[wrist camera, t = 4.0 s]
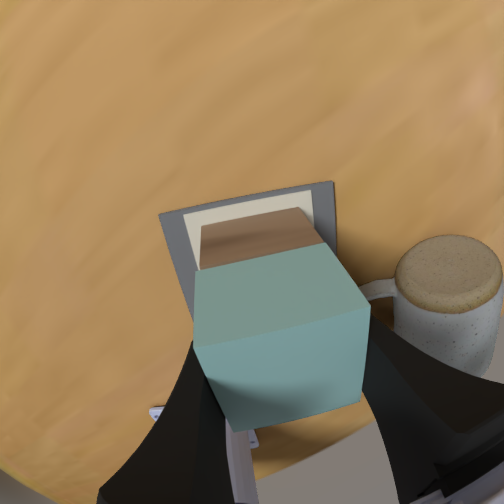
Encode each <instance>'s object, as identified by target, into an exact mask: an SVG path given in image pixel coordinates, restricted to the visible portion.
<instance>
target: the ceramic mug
mask: <svg viewBox="0 0 504 504" xmlns="http://www.w3.org/2000/svg"><path fill="white" fill-rule="evenodd" d="M358 288H359V290H360V291H361V292H362V294H363V295H364V297H365V298H366V300H367V301H370V300H374V299H377V298H385V297H390V296H391V297H393V306H394V309H393V314H394V332H395V333H396V334H397V335H399V336H400V337H402V338H403V339H404V340H406V341H407V342H409V343H410V344H412V345H413V346H415V347H416V348H418V349H419V350H421V351H423V352H424V353H426V354H428V355H430V356H431V357H433V358H435V359H437V360H439V361H441V362H443V363H445V364H447V365H449V366H451V367H453V368H456V369H458V370H460V371H463V372H465V373H468V374H471V375H473V376H476V377H480V378H481V377H482V376H483V375H484V373H485V372H486V370H487V368H488V367H489V365H490V362H491V360H492V356H493V352H494V347H495V342H496V337H497V332H498V327H499V321H500V313H501V309H502V303H503V295H504V282H503V272H502V266H501V263H500V261H499V259H498V257H497V255H496V254H495V253H494V252H493V250H491V249H490V248H489V247H488V246H487V245H485V244H484V243H482V242H480V241H478V240H476V239H474V238H470V237H466V236H460V235H442V236H437V237H433V238H429V239H427V240H424V241H422V242H420V243H418V244H417V245H415V246H413V247H412V248H411V249H410V250H409V251H408V252H406V253H405V254H404V256H403V257H402V258H401V260H400V261H399V263H398V265H397V269H396V273H395V276H394V277H393V278H392V279H382V280H374V281H372V282H370V283H367V284H364V285H362V286H359V287H358Z"/></svg>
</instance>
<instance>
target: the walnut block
mask: <svg viewBox="0 0 504 504" xmlns="http://www.w3.org/2000/svg"><path fill="white" fill-rule="evenodd" d="M320 243H324V241H323V240H322V238H321V237H320V236H319V234H318V233H317V232H316V230H315V229H314V227H313V226H312V225H311V223H310V222H309V220H308V219H307V218H306V216H305V215H304V214H303V212H302V211H301V210H300V208H299V207H294V208H289V209H283V210H278V211H273V212H268V213H262V214H257V215H252V216H247V217H242V218H237V219H232V220H227V221H222V222H217V223H212V224H208V225H203V226H201V240H200V261H199V267H200V270H204V269H208V268H213V267H217V266H222V265H226V264H231V263H235V262H240V261H244V260H249V259H253V258H258V257H262V256H267V255H271V254H276V253H280V252H285V251H289V250H294V249H298V248H303V247H307V246H312V245H316V244H320Z"/></svg>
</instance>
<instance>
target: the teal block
mask: <svg viewBox="0 0 504 504" xmlns="http://www.w3.org/2000/svg"><path fill="white" fill-rule="evenodd" d="M370 309H371V306H370V304H369V303H368V301H367V300H366V298H365V297H364V295H363V294H362V292H361V291H360V290H359V288H358V287H357V285H356V284H355V282H354V281H353V280H352V278H351V277H350V275H349V274H348V273H347V271H346V270H345V268H344V267H343V266H342V264H341V263H340V261H339V260H338V259H337V257H336V256H335V255H334V253H333V252H332V250H331V249H330V248H329V246H328V245H327V244H326V242H325V243H320V244H316V245H312V246H307V247H303V248H298V249H294V250H289V251H285V252H280V253H276V254H271V255H267V256H262V257H258V258H253V259H249V260H244V261H240V262H235V263H231V264H226V265H222V266H217V267H213V268H208V269H204V270H199V271H195V294H194V331H193V349H194V351H195V353H196V356H197V358H198V360H199V362H200V365H201V367H202V369H203V371H204V373H205V375H206V378H207V380H208V382H209V384H210V386H211V388H212V390H213V392H214V395H215V397H216V399H217V401H218V403H219V405H220V407H221V409H222V411H223V413H224V415H225V417H226V419H227V421H228V423H229V425H230V427H231V429H232V431H233V433H235V432H241V431H246V430H252V429H257V428H262V427H267V426H272V425H276V424H281V423H285V422H290V421H294V420H298V419H302V418H306V417H310V416H313V415H317V414H321V413H324V412H328V411H331V410H334V409H338V408H341V407H344V406H347V405H351V404H354V403H357V402H360V398H361V391H362V384H363V377H364V369H365V361H366V353H367V343H368V333H369V322H370Z"/></svg>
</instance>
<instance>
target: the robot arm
mask: <svg viewBox="0 0 504 504" xmlns="http://www.w3.org/2000/svg"><path fill="white" fill-rule="evenodd" d="M362 391H363V393H364V395H365V397H366V399H367V401H368V403H369V405H370V407H371V409H372V412H373V414H374V416H375V418H376V421H377V424H378V427H379V430H380V432H381V435H382V438H383V441H384V444H385V448H386V451H387V454H388V457H389V461H390V465H391V468H392V472H393V476H394V481H395V485H396V489H397V494H398V500H399V503H400V504H446V503H447V504H504V384H501V383H498V382H493V381H489V380H486V379H482V378H480V377H476V376H473V375H471V374H468V373H465V372H463V371H460V370H458V369H456V368H453V367H451V366H449V365H447V364H445V363H443V362H441V361H439V360H437V359H435V358H433V357H431V356H430V355H428V354H426V353H424V352H423V351H421V350H419V349H418V348H416V347H415V346H413V345H412V344H410V343H409V342H407V341H406V340H404V339H403V338H402V337H400V336H399V335H397V334H396V333H395V332H393V331H392V330H391V329H389V328H388V327H387V326H386V325H384V324H383V323H382V322H380V321H379V320H378V319H377V318H375V317H374V316H373V315H372V314H370V322H369V333H368V343H367V353H366V361H365V369H364V377H363V384H362ZM149 414H150V415H151V416H152V418H153V419H154V420H155V424H154V426H153V427H152V429H151V430H150V432H149V433H148V434H147V436H146V437H145V439H144V440H143V442H142V443H141V444H140V446H139V447H138V448H137V450H136V451H135V452H134V453H133V454H132V455H131V457H130V458H129V459H128V460H127V461H126V463H125V464H124V465H123V466H122V467H121V468H120V469H119V470H118V471H117V472H116V473H115V474H114V475H113V476H112V477H111V478H110V479H109V480H108V481H107V482H106V483H105V484H104V485H103V486H102V487H100V488H99V493H98V497H97V503H96V504H259V501H258V495H257V488H256V482H255V476H254V469H253V463H252V456H251V449H252V448H257V447H258V446H259V442H258V439H257V436H256V434H255V431H254V429H252V430H246V431H241V432H235V433H233V431H232V429H231V427H230V425H229V423H228V421H227V419H226V417H225V415H224V413H223V411H222V409H221V407H220V405H219V403H218V401H217V399H216V397H215V395H214V392H213V390H212V388H211V386H210V384H209V382H208V380H207V378H206V375H205V373H204V371H203V369H202V367H201V365H200V362H199V360H198V358H197V356H196V353H195V351H194V349H193V341H192V342H191V345H190V348H189V351H188V354H187V357H186V360H185V362H184V365H183V368H182V370H181V373H180V375H179V377H178V380H177V382H176V384H175V387H174V389H173V391H172V393H171V395H170V397H169V399H168V401H167V403H166V405H165V406H164V407H153V408H150V410H149Z"/></svg>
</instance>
